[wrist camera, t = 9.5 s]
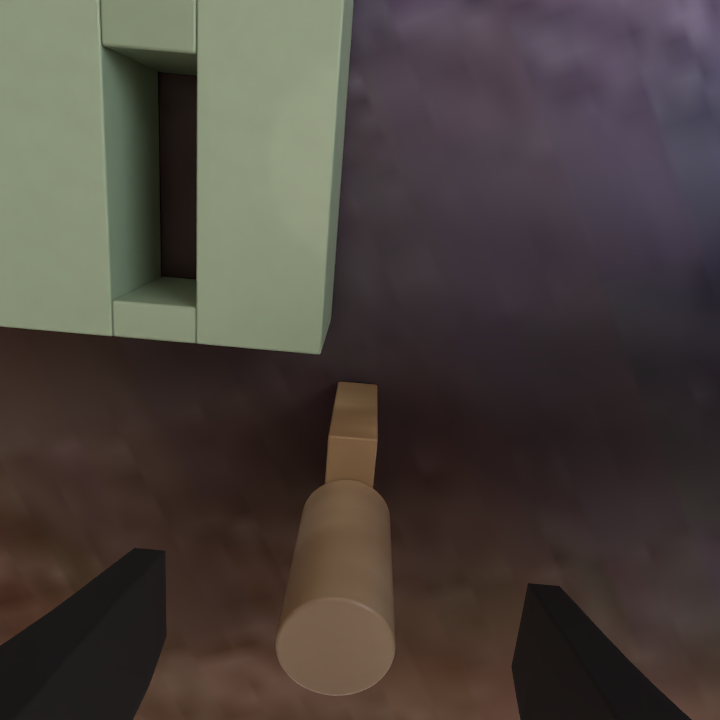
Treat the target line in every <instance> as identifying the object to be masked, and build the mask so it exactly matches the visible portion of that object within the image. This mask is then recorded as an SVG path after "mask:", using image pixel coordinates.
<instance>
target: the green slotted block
mask: <svg viewBox="0 0 720 720" xmlns="http://www.w3.org/2000/svg"><path fill="white" fill-rule="evenodd" d="M353 3H354V0H0V327H12V328H23V329H34V330H46V331H57V332H69V333H80V334H91V335H103V336H113V335H114V336H117V337H128V338H139V339H151V340H162V341H174V342H185V343H196V342H197V343H198V344H206V345H217V346H228V347H240V348H251V349H263V350H274V351H285V352H297V353H308V354H320V353H321V350H322V347H323V344H324V340H325V337H326V334H327V331H328V328H329V324H330V321H331V312H332V298H333V284H334V270H335V256H336V242H337V228H338V214H339V200H340V186H341V172H342V158H343V144H344V130H345V116H346V102H347V88H348V74H349V60H350V46H351V32H352V18H353ZM158 71H159V72H161V73H173V74H184V75H195V76H197V262H196V279H186V278H175V277H161V242H160V175H159V108H158Z"/></svg>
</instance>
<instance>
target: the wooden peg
mask: <svg viewBox="0 0 720 720" xmlns="http://www.w3.org/2000/svg"><path fill="white" fill-rule="evenodd" d="M377 444H378V406H377V385H374V384H363V383H351V382H338V386H337V391H336V397H335V402H334V408H333V413H332V419H331V424H330V430H329V436H328V448H327V461H326V475H325V485H323V486H321V487H319V488H318V489H317V490H315V491H314V492H313V493H312V494H311V495H310V497H309V498H308V500H307V501H306V503H305V505H304V509H303V513H302V517H301V522H300V526H299V531H298V536H297V540H296V545H295V550H294V554H293V559H292V564H291V568H290V573H289V577H288V582H287V587H286V591H285V596H284V601H283V605H282V610H281V615H280V619H279V624H278V629H277V633H276V640H275V648H276V653H277V656H278V659H279V662H280V664H281V666H282V668H283V669H284V671H285V672H286V673H287V674H288V676H289V677H290V678H291V679H293V680H294V681H295V682H296V683H298V684H299V685H301V686H302V687H304V688H306V689H308V690H311V691H313V692H316V693H320V694H325V695H336V696H340V695H349V694H354V693H358V692H361V691H363V690H366V689H368V688H369V687H371V686H373V685H374V684H376V683H377V682H378V681H379V680H380V679H381V678H382V677H383V676H384V675H385V674H386V673H387V671H388V669H389V668H390V666H391V664H392V661H393V659H394V655H395V625H394V601H393V577H392V553H391V529H390V513H389V509H388V507H387V504H386V502H385V501H384V499H383V498H382V496H381V495H380V494H379V493H378V492H377V491H376V490H374V489H373V484H374V474H375V464H376V454H377Z"/></svg>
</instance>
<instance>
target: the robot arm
mask: <svg viewBox="0 0 720 720" xmlns="http://www.w3.org/2000/svg"><path fill="white" fill-rule="evenodd" d="M165 638H166V576H165V551H162V550H151V549H140V548H134V549H133V550H131V551H130V552H129V553H127V554H126V555H125V556H123V557H122V558H121V559H119V560H118V561H117V562H115V563H114V564H113V565H112V566H110V567H109V568H108V569H106V570H105V571H104V572H102V573H101V574H100V575H99V576H97V577H96V578H95V579H93V580H92V581H91V582H89V583H88V584H87V585H86V586H84V587H83V588H82V589H80V590H79V591H78V592H76V593H75V594H74V595H72V596H71V597H70V598H68V599H67V600H66V601H64V602H63V603H62V604H60V605H59V606H57V607H56V608H55V609H53V610H52V611H51V612H49V613H48V614H46V615H45V616H43V617H42V618H40V619H39V620H38V621H36V622H35V623H33V624H32V625H30V626H29V627H27V628H26V629H24V630H23V631H21V632H20V633H19V634H17V635H16V636H14V637H13V638H11V639H10V640H8V641H7V642H5V643H4V644H2V645H1V646H0V720H133V718H134V716H135V714H136V712H137V710H138V708H139V706H140V704H141V702H142V700H143V697H144V695H145V693H146V691H147V689H148V687H149V684H150V681H151V679H152V676H153V673H154V670H155V668H156V665H157V662H158V659H159V656H160V653H161V650H162V647H163V644H164V641H165ZM512 672H513V678H514V684H515V691H516V697H517V702H518V708H519V714H520V719H521V720H691V719H690V718H689V717H688V716H687V715H686V714H685V713H683V712H682V711H681V710H680V709H679V708H678V707H677V706H676V705H675V704H674V703H673V702H672V701H671V700H670V699H668V698H667V697H666V696H665V695H664V694H663V693H662V692H661V691H660V690H659V689H658V688H657V687H656V686H654V685H653V684H652V683H651V682H650V681H649V680H648V679H647V678H646V677H645V676H644V675H643V674H642V673H641V672H640V671H639V670H638V669H637V668H636V667H635V666H634V665H633V664H632V663H631V662H630V661H629V660H628V659H627V658H626V657H625V656H624V655H623V654H622V653H621V651H620V650H619V649H618V648H617V647H616V646H615V645H614V644H613V643H612V642H611V641H610V640H609V639H608V638H607V637H606V636H605V635H604V634H603V633H602V631H601V630H600V629H599V628H598V627H597V626H596V625H595V624H594V623H593V622H592V621H591V620H590V619H589V617H588V616H587V615H586V614H585V613H584V612H583V611H582V610H581V609H580V608H579V607H578V605H577V604H576V603H575V602H574V601H573V600H572V599H571V598H570V597H569V596H568V595H567V594H566V593H565V592H564V591H563V590H562V589H561V588H560V587H559V586H552V585H541V584H530V583H528V587H527V592H526V597H525V602H524V607H523V612H522V617H521V622H520V627H519V632H518V637H517V642H516V647H515V652H514V657H513V662H512Z"/></svg>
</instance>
